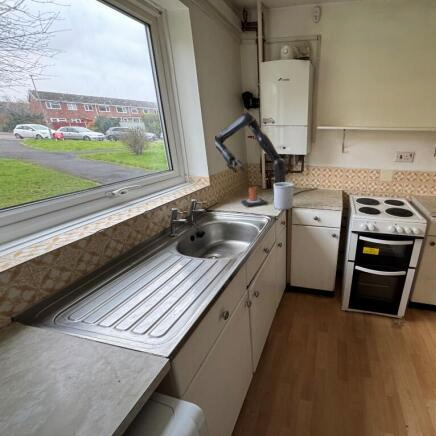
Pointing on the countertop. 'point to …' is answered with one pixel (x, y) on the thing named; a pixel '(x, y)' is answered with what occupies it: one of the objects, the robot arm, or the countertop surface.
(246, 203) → the kitchen scale
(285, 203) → the utensil holder
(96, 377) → the countertop surface
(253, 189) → the cup
